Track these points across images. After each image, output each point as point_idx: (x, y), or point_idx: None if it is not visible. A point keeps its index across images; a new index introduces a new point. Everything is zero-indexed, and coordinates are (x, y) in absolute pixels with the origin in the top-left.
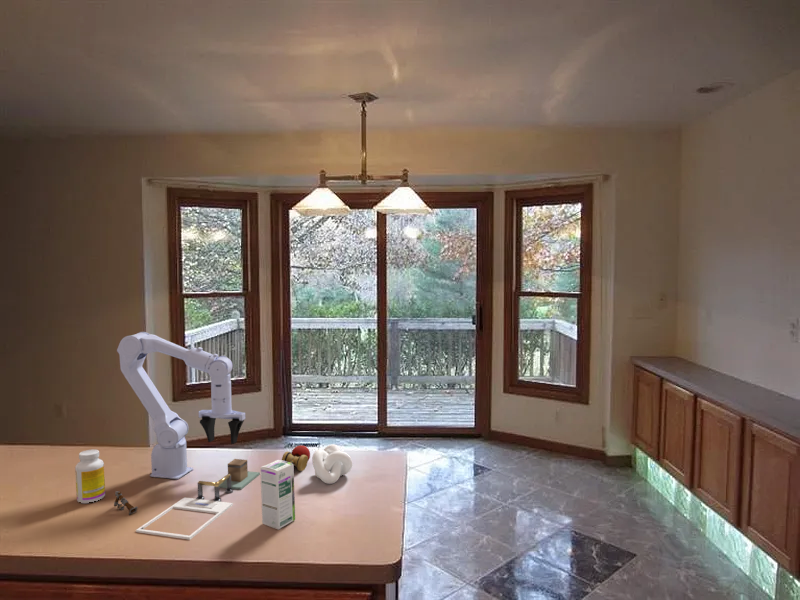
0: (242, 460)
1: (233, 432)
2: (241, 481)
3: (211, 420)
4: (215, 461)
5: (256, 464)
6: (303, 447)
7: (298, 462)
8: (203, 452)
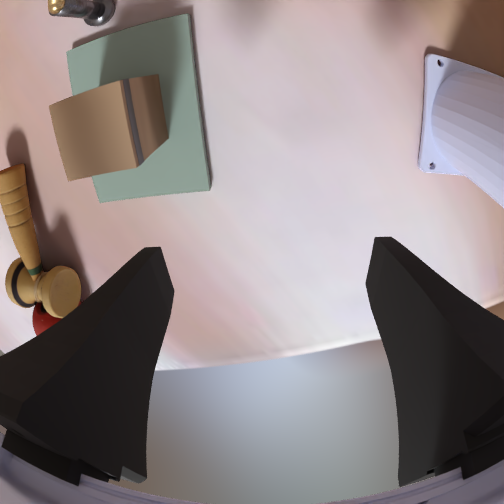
0: (82, 164)
1: (72, 315)
2: None
3: (432, 439)
4: (366, 260)
5: (184, 273)
6: None
7: (12, 270)
8: None
